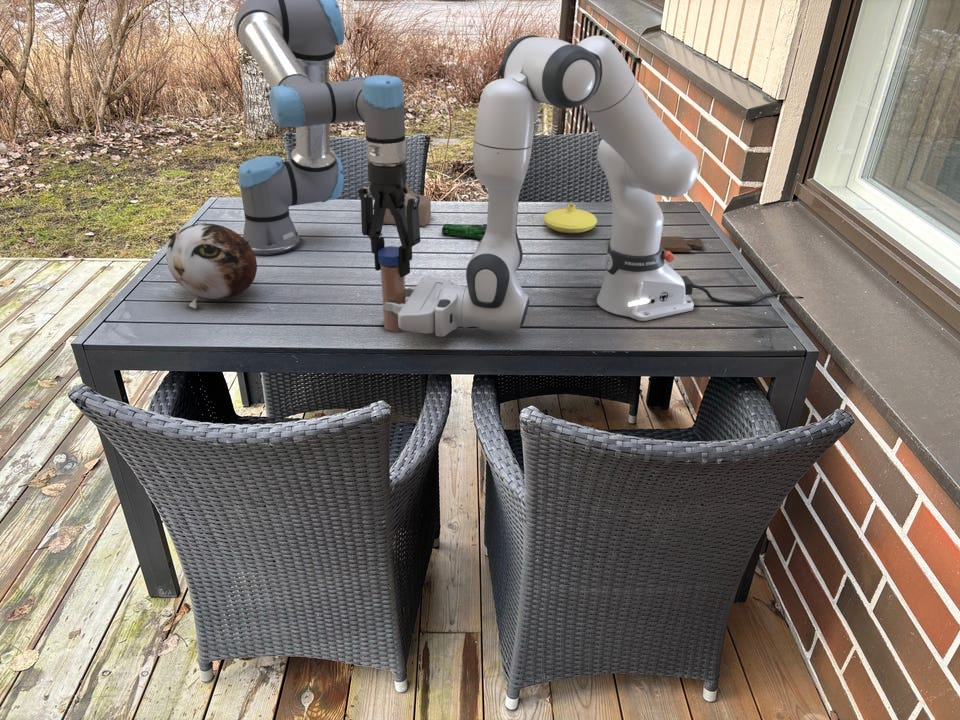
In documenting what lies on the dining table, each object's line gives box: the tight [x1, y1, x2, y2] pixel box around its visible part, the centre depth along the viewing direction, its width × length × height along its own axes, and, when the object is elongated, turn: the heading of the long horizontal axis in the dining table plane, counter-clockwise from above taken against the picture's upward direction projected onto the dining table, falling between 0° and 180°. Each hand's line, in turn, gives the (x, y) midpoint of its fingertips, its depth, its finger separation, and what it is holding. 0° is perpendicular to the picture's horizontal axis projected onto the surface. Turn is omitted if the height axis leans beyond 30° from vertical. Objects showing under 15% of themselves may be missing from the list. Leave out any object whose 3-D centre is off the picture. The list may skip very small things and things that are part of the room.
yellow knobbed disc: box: [543, 203, 598, 234], centre depth 209 cm, size 16×16×7 cm
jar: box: [380, 264, 407, 332], centre depth 153 cm, size 5×5×17 cm
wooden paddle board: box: [609, 235, 704, 253], centre depth 200 cm, size 26×2×10 cm
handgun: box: [441, 223, 487, 241], centre depth 207 cm, size 16×3×15 cm
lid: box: [378, 246, 399, 266], centre depth 149 cm, size 6×6×2 cm
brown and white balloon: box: [165, 222, 258, 309], centre depth 165 cm, size 22×18×20 cm
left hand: (392, 271), depth 151 cm, fingers closed on lid, 6 cm apart
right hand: (390, 298), depth 154 cm, fingers closed on jar, 5 cm apart
